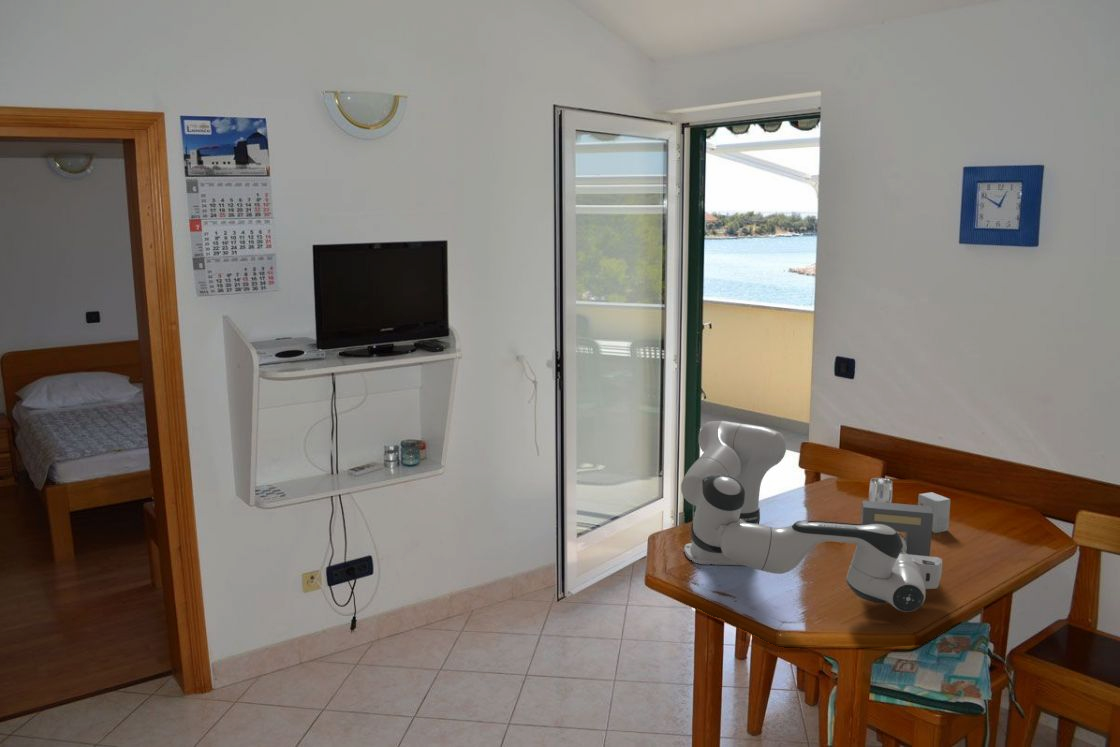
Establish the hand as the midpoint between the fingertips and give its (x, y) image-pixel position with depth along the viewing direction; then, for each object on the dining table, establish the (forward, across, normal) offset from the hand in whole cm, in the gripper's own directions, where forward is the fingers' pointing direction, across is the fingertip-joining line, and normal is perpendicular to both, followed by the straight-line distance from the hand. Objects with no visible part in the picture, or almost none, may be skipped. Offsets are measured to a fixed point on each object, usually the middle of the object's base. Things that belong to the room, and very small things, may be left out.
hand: (898, 552), depth 238 cm
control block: (+12, 0, -9) cm, 15 cm away
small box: (+48, +14, -9) cm, 51 cm away
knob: (+9, 0, -3) cm, 9 cm away
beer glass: (+46, -2, -9) cm, 47 cm away
